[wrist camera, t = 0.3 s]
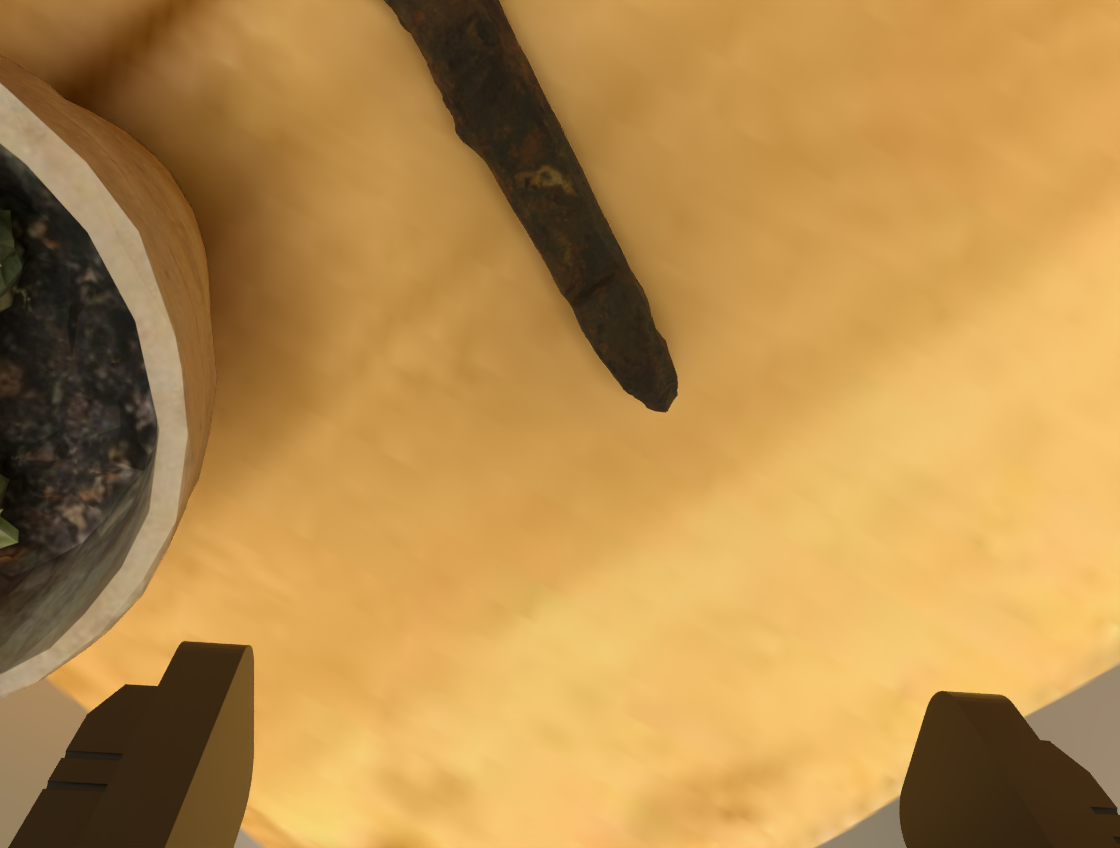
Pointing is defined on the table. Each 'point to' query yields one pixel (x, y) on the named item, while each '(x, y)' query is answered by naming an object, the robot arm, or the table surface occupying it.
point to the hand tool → (541, 183)
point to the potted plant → (90, 373)
